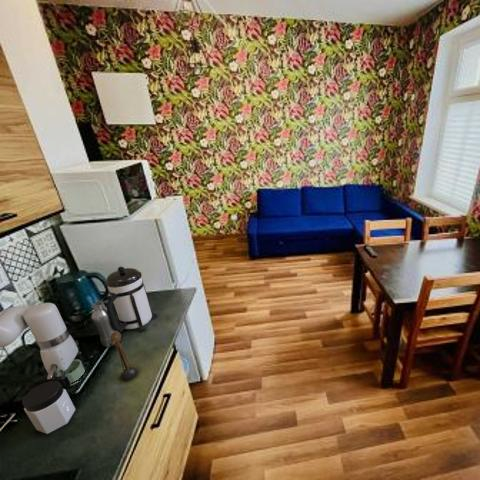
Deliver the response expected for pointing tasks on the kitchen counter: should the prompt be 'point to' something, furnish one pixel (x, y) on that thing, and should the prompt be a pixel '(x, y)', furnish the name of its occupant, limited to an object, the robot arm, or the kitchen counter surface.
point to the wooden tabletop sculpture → (123, 358)
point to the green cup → (73, 371)
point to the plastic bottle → (103, 323)
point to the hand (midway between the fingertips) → (72, 374)
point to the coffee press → (128, 299)
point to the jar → (48, 406)
